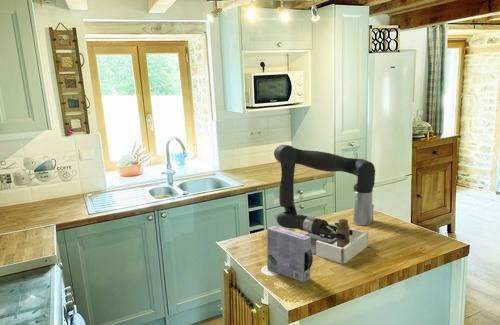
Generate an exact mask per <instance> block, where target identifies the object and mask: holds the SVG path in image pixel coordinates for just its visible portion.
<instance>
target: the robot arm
mask: <svg viewBox="0 0 500 325" xmlns="http://www.w3.org/2000/svg"><path fill="white" fill-rule="evenodd" d="M273 155H274V159H275V160H276V161H277V162H278V163H280V168H281V178H280V183H279V190H278V192H279V194H278V195H279V196H278V198H279V206H280V207H282V208H284V211H283V212H280V213H278V215H277V216H276V223H277V224H278V225H279V226H280V227H281V228H283V229H292V230H293V229H294V230H296V229H297V230H300V231H302V232H303V231H304V232H306V233H307V234H308V233H311V234H314V235H318V236H320V237H321V238H326V239H332V240H333V239H334V238H335V239H336V238H339V239H342V240H345V239H346V235H344V234H340V233H337V226H339V222H334V224H329V223H328V221H327V220H325V219H323V218H322V219H321V218H318V217H313V216H307V215H303V214H297V213H298V212H297V209H296V206H295V203H294V202H295V198H294V197H295V195H294V193H295V192H294V182H295V181H294V180H295V170H296V165H301V166H304V167H307V168H309V169H312V170H313V169H314V170H318V171H323V172H329V173H335V172H343V173H348V174H351V175H354V176H356V177H357V181H356V184H354V186H353V212H352V213H353V219H352V220H353V223H354V224H355V225H359V226H370V225H371V224H372V223H374V212H375V211H374V207H375V206H374V204H373V190H374V189H373V188H374V186H375V182H376V181H375V179H376V168H375V165H374V163H372V162H371V161H369V160H366V159H363V158H352V157H344V156H341V155H338V154H334V153H331V152H325V151H319V150H305V149H300V148H295V147H293V146H292V145H289V144H281V145H278V146H277V147H276V148H275V149H274V151H273ZM352 233H353V231H352V230H350V233H349V235H352ZM328 236H330V237H328Z"/></svg>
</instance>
